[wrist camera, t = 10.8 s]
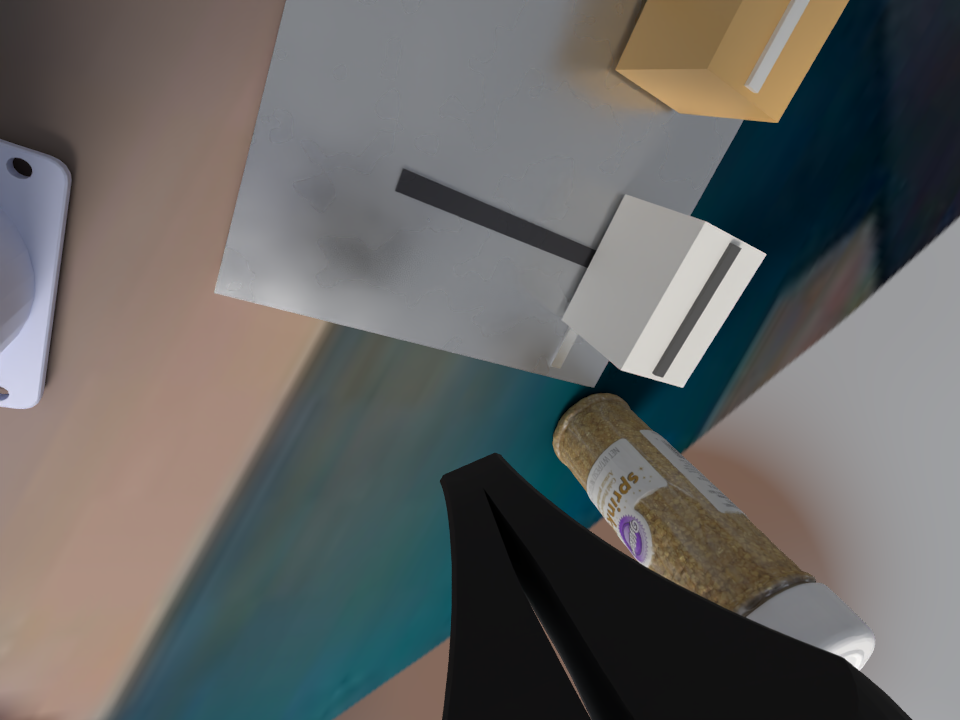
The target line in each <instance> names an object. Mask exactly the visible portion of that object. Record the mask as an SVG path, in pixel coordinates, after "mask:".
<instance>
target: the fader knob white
mask: <svg viewBox="0 0 960 720" xmlns="http://www.w3.org/2000/svg"><path fill="white" fill-rule="evenodd" d="M766 255H767V254H765V253H763V252H762V251H760V250H758V249H756V248H754V247H752V246H750V245H749V244H747V243H745V242H743V241H741V240H739V239H737V238H736V237H734V236H732V235H730V234H728V233H726V232H724V231H723V230H721V229H719V228H717V227H715V226H713V225H711V224H710V223H708V222H706V221H703V220H700V219H697V218H694V217H691V216H688V215H685V214H682V213H679V212H677V211H674V210H671V209H668V208H665V207H662V206H659V205H656V204H653V203H650V202H647V201H644V200H641V199H638V198H635V197H632V196H629V195H627V194H625V196H624V198H623V200H622V201H621V203H620V205H619V207H618V209H617V211H616V213H615V215H614V217H613V219H612V221H611V223H610V225H609V227H608V229H607V231H606V233H605V235H604V237H603V239H602V241H601V243H600V245H599V247H598V249H597V251H596V253H595V255H594V257H593V259H592V261H591V263H590V265H589V266H588V268H587V270H586V272H585V274H584V276H583V278H582V280H581V282H580V284H579V286H578V288H577V290H576V292H575V294H574V296H573V298H572V300H571V302H570V304H569V306H568V308H567V310H566V312H565V314H564V316H563V318H562V321H563V322H565V323H566V324H567V325H568V326H569V327H570V328H572V329H573V330H574V331H575V332H576V333H577V334H579V335H580V336H581V337H582V338H583V339H584V340H586V341H587V342H588V343H589V344H590V345H592V346H593V347H594V348H595V349H596V350H597V351H599V352H600V353H601V354H602V355H603V356H604V357H606V358H607V359H608V360H609V361H610V362H611V363H613V364H614V365H615V366H616V367H617V368H619V369H620V370H622V371H625V372H629V373H632V374H636V375H639V376H643V377H646V378H650V379H653V380H657V381H661V382H664V383H668V384H671V385H675V386H678V387H682V388H683V387H684V385H685V383H686V382H687V380H688V379H689V377H690V375H691V374H692V372H693V371H694V369H695V367H696V366H697V364H698V363H699V361H700V359H701V358H702V356H703V355H704V353H705V352H706V350H707V348H708V347H709V345H710V344H711V342H712V340H713V339H714V337H715V336H716V334H717V332H718V331H719V329H720V328H721V326H722V325H723V323H724V321H725V320H726V318H727V317H728V315H729V313H730V312H731V310H732V309H733V307H734V305H735V304H736V302H737V301H738V299H739V297H740V296H741V294H742V293H743V291H744V290H745V288H746V286H747V285H748V283H749V282H750V280H751V278H752V277H753V275H754V274H755V272H756V270H757V269H758V267H759V266H760V264H761V263H762V261H763V259H764V258H765V256H766Z"/></svg>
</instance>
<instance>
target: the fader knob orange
mask: <svg viewBox="0 0 960 720" xmlns="http://www.w3.org/2000/svg"><path fill="white" fill-rule="evenodd" d="M848 1H849V0H647V2H646V4H645V6H644V8H643V10H642V13H641V15H640V17H639V19H638V21H637V23H636V26H635V28H634V30H633V32H632V34H631V36H630V39H629V41H628V43H627V45H626V47H625V49H624V51H623V54H622V56H621V58H620V60H619V62H618V64H617V67H616V69H615V70H616V71H617V72H619V73H620V74H622V75H623V76H625V77H626V78H628V79H629V80H631V81H632V82H634V83H635V84H637V85H638V86H640V87H641V88H643V89H644V90H646V91H647V92H649V93H650V94H652V95H653V96H655V97H656V98H657V99H659V100H660V101H662V102H663V103H665V104H666V105H668V106H669V107H671V108H672V109H674V110H675V111H677V112H678V113H680V114H691V115H701V116H712V117H722V118H732V119H743V120H753V121H763V122H774V123H778V121H779V120H780V118H781V116H782V115H783V113H784V111H785V109H786V108H787V106H788V104H789V103H790V101H791V99H792V97H793V96H794V94H795V92H796V91H797V89H798V87H799V85H800V84H801V82H802V80H803V78H804V77H805V75H806V73H807V72H808V70H809V68H810V66H811V65H812V63H813V61H814V60H815V58H816V56H817V54H818V53H819V51H820V49H821V48H822V46H823V44H824V42H825V41H826V39H827V37H828V36H829V34H830V32H831V30H832V29H833V27H834V25H835V24H836V22H837V20H838V18H839V17H840V15H841V13H842V12H843V10H844V8H845V6H846V5H847V3H848Z"/></svg>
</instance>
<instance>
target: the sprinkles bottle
mask: <svg viewBox="0 0 960 720" xmlns="http://www.w3.org/2000/svg"><path fill="white" fill-rule="evenodd" d="M552 444H553V447H554V451H555V453H556V455H557V457H558V458H559V459H560V460H561V461H562V462H563V463H564V464H565V465H567V466H568V468H569V469H570V470H571V472H572V473H573V474H574V476H575V477H576V478H577V480H578V481H579V482H580V483H581V485H582V486H583V487H584V489H585V490H586V491H587V493H588V495H589V498H590V499H591V501H592V502H593V503H594V505H595V506H596V507H597V509H598V510H599V511H600V513H601V514H602V515H603V517H604V518H605V519H606V521H607V522H608V523H609V525H610V526H611V527H612V528H613V530H614V531H615V532H616V533H617V535H618V536H619V538H620V539H621V540H622V542H623V543H624V544H625V545H626V546H627V548H628V549H629V550H630V552H631V553H632V555H633V556H634V557H635V558H636V560H637V561H638V562H639V563H640V564H642V565H644V566H645V567H647V568H649V569H651V570H653V571H654V572H656V573H658V574H660V575H661V576H663V577H665V578H667V579H669V580H670V581H672V582H674V583H676V584H678V585H680V586H682V587H684V588H686V589H688V590H690V591H692V592H694V593H696V594H698V595H700V596H702V597H704V598H706V599H708V600H710V601H712V602H714V603H716V604H718V605H720V606H722V607H724V608H726V609H728V610H730V611H732V612H735V613H737V614H739V615H741V616H744V617H746V618H748V619H750V620H753V621H755V622H757V623H759V624H762V625H764V626H766V627H768V628H771V629H773V630H776V631H778V632H781V633H783V634H785V635H788V636H790V637H793V638H795V639H798V640H800V641H802V642H805V643H808V644H810V645H813V646H815V647H818V648H821V649H823V650H826V651H828V652H831V653H833V654H836V655H838V656H841V657H843V658H845V659H846V660H847V661H848V662H849V663H851V664H852V665H853V666H854V667H856V668H857V669H858V670H859V671H860V669H861V668H862V667H863V666H864V664H865V663H866V662H867V660H868V659H869V657H870V655H871V654H872V652H873V650H874V647H875V636H874V633H873V631H872V630H871V629H870V627H869V626H868V625H867V624H866V623H865V622H864V621H863V620H862V619H861V618H860V617H859V616H858V615H857V614H856V613H855V612H854V611H853V610H852V609H851V608H850V607H848V605H847V604H846V603H844V602H843V601H842V600H841V599H840V598H839V597H838V596H837V595H836V594H835V593H834V592H832V590H831V589H829V588H828V587H827V586H826V585H824V584H822V583H816V581H815V578H814V577H813V576H812V575H810V574H809V573H806V572H803V571H801V570H800V569H799V568H798V566H797V565H796V564H795V563H794V562H793V561H791V559H789V558H788V557H787V556H786V555H785V554H784V553H783V552H782V551H780V550H779V549H778V548H777V547H776V546H775V545H774V544H773V543H772V542H771V541H770V540H769V539H768V537H767V536H766V535H765V534H764V533H762V532H761V531H760V530H759V529H758V528H756V526H754V524H753V523H752V522H750V520H749V519H748V518H747V516H746V515H745V514H744V513H743V512H742V511H741V510H740V509H739V508H738V507H736V505H735V504H733V503H732V502H731V501H730V500H729V499H728V498H727V497H726V496H725V495H724V494H723V493H722V492H721V491H720V490H718V488H716V487H715V486H714V485H713V484H712V483H711V482H710V481H709V480H708V479H707V478H706V477H705V476H704V475H703V474H702V473H701V472H699V471H698V470H697V469H696V468H695V467H694V466H693V465H692V464H691V463H690V462H689V461H687V460H686V459H685V458H684V457H683V456H682V455H681V454H680V453H679V452H678V451H677V450H676V449H675V448H673V447H672V446H671V445H670V444H669V443H668V442H667V441H666V440H665V439H664V438H663V437H662V436H660V435H659V434H658V433H656V432H654V431H653V430H652V429H650V428H649V427H648V426H647V425H646V424H645V423H644V422H643V421H642V420H641V419H640V418H639V417H638V416H637V415H636V414H635V413H634V412H633V411H632V410H630V407H629V406H628V404H627V403H626V402H625V401H624V400H623V399H622V398H620V397H619V396H617V395H613V394H609V393H599V394H592V395H590V396H588V397H586V398H583V399H581V400H580V401H579V402H578V403H576V404H574V405H573V406H572V407H571V408H569V409H568V410H567V412H566V413H565V414H564V415H563V416H562V417H561V419H560V421H559V422H558V425H557V427H556V429H555V433H554V435H553V443H552Z"/></svg>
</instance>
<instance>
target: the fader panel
mask: <svg viewBox="0 0 960 720" xmlns="http://www.w3.org/2000/svg"><path fill="white" fill-rule="evenodd" d="M646 2H647V0H286V3H285V7H284V11H283V15H282V19H281V23H280V27H279V31H278V36H277V40H276V44H275V48H274V52H273V56H272V60H271V64H270V68H269V72H268V76H267V80H266V84H265V88H264V92H263V96H262V101H261V105H260V109H259V113H258V117H257V121H256V125H255V129H254V133H253V137H252V141H251V145H250V149H249V153H248V157H247V161H246V166H245V170H244V174H243V178H242V182H241V186H240V190H239V194H238V198H237V202H236V206H235V210H234V214H233V218H232V222H231V226H230V231H229V235H228V239H227V243H226V247H225V251H224V255H223V259H222V263H221V267H220V271H219V275H218V279H217V283H216V287H215V291H214V293H217V294H221V295H225V296H229V297H233V298H237V299H241V300H245V301H249V302H253V303H257V304H261V305H265V306H269V307H273V308H277V309H281V310H285V311H289V312H293V313H297V314H301V315H305V316H309V317H313V318H317V319H321V320H325V321H329V322H333V323H337V324H341V325H345V326H349V327H353V328H357V329H361V330H365V331H369V332H373V333H377V334H381V335H385V336H389V337H393V338H397V339H401V340H405V341H409V342H413V343H417V344H421V345H425V346H429V347H433V348H437V349H441V350H445V351H449V352H453V353H457V354H461V355H465V356H469V357H473V358H477V359H481V360H485V361H489V362H493V363H497V364H501V365H505V366H509V367H513V368H517V369H521V370H525V371H529V372H533V373H537V374H541V375H545V376H549V377H553V378H557V379H561V380H565V381H569V382H573V383H577V384H581V385H585V386H589V387H593V388H594V386H595V385H596V383H597V381H598V379H599V378H600V376H601V374H602V372H603V370H604V369H605V367H606V365H607V363H608V361H609V360H608V359H607V358H606V357H604V356H603V355H602V354H601V353H600V352H599V351H597V350H596V349H595V348H594V347H593V346H592V345H590V344H589V343H588V342H587V341H586V340H584V339H583V338H582V337H581V336H580V335H579V334H577V333H576V332H575V331H574V330H573V329H572V328H570V327H569V326H568V325H567V324H566V323H565V322H563V321H562V318H563V316H564V314H565V312H566V310H567V308H568V306H569V304H570V302H571V300H572V298H573V296H574V294H575V292H576V290H577V288H578V286H579V284H580V282H581V280H582V278H583V276H584V274H585V272H586V270H587V268H588V266H589V265H590V263H591V261H592V259H593V257H594V255H595V253H596V251H597V249H598V247H599V245H600V243H601V241H602V239H603V237H604V235H605V233H606V231H607V229H608V227H609V225H610V223H611V221H612V219H613V217H614V215H615V213H616V211H617V209H618V207H619V205H620V203H621V201H622V200H623V198H624V196H625V194H627V195H629V196H632V197H635V198H638V199H641V200H644V201H647V202H650V203H653V204H656V205H659V206H662V207H665V208H668V209H671V210H674V211H677V212H679V213H682V214H685V215H688V216H690V215H691V213H692V211H693V210H694V208H695V206H696V204H697V202H698V201H699V199H700V197H701V195H702V194H703V192H704V190H705V188H706V186H707V185H708V183H709V181H710V179H711V177H712V176H713V174H714V172H715V170H716V169H717V167H718V165H719V163H720V161H721V160H722V158H723V156H724V154H725V152H726V151H727V149H728V147H729V145H730V144H731V142H732V140H733V138H734V136H735V135H736V133H737V131H738V129H739V127H740V126H741V124H742V122H743V119H732V118H722V117H712V116H701V115H691V114H680V113H678V112H677V111H675V110H674V109H672V108H671V107H669V106H668V105H666V104H665V103H663V102H662V101H660V100H659V99H657V98H656V97H655V96H653V95H652V94H650V93H649V92H647V91H646V90H644V89H643V88H641V87H640V86H638V85H637V84H635V83H634V82H632V81H631V80H629V79H628V78H626V77H625V76H623V75H622V74H620V73H619V72H617V71H616V70H615V69H616V67H617V64H618V62H619V60H620V58H621V56H622V54H623V51H624V49H625V47H626V45H627V43H628V41H629V39H630V36H631V34H632V32H633V30H634V28H635V26H636V23H637V21H638V19H639V17H640V15H641V13H642V10H643V8H644V6H645V4H646Z"/></svg>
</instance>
